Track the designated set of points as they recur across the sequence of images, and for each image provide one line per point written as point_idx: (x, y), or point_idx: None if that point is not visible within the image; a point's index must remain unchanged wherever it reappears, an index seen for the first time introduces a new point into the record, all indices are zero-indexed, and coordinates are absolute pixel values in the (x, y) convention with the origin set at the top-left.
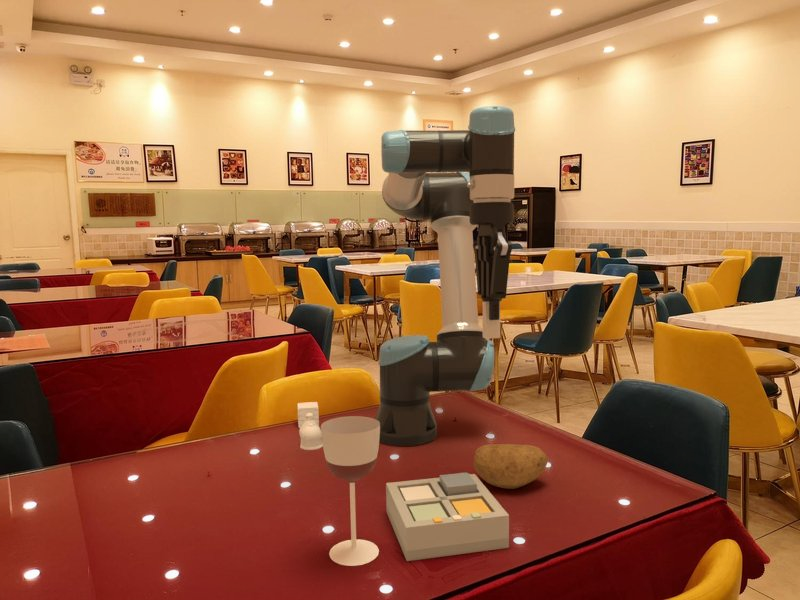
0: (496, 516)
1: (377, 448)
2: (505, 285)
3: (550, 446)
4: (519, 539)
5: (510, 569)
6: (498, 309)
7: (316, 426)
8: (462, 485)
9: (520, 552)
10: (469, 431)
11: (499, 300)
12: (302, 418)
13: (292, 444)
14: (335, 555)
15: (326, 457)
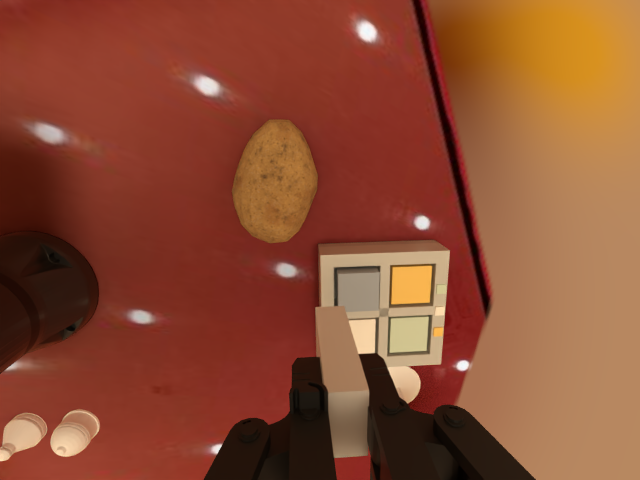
0: (448, 265)
1: None
2: (518, 472)
3: (120, 35)
4: (420, 221)
5: (471, 252)
6: (391, 382)
7: (60, 441)
8: (378, 291)
9: (446, 230)
10: (20, 166)
11: (413, 411)
12: None
13: None
14: None
15: None
